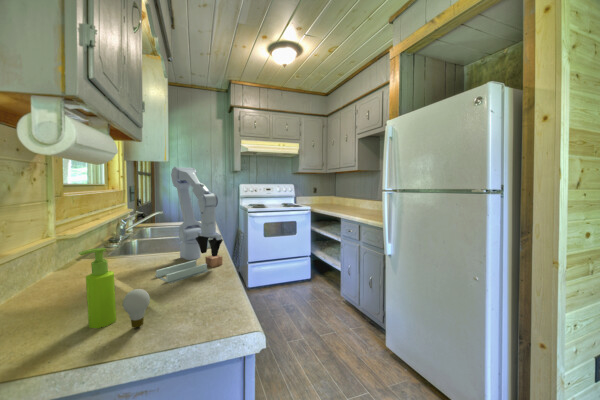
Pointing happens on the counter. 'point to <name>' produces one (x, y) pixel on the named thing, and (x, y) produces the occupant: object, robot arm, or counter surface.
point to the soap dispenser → (100, 291)
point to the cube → (214, 260)
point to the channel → (181, 271)
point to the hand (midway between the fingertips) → (209, 254)
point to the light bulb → (136, 306)
